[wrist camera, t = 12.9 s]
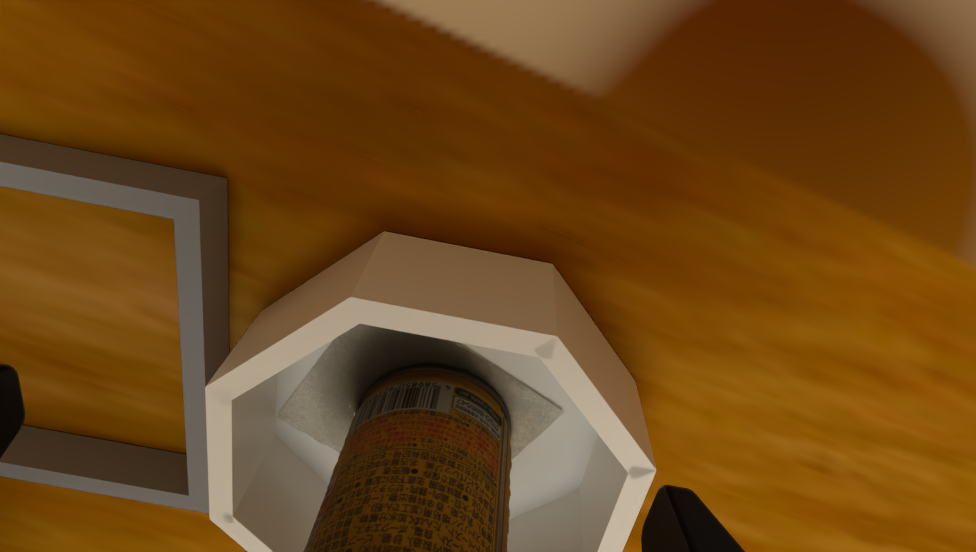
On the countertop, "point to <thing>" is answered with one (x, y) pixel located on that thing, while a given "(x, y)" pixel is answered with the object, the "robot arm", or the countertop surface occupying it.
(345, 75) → the countertop surface
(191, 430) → the open square frame
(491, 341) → the bowl
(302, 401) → the condiment
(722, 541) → the robot arm
